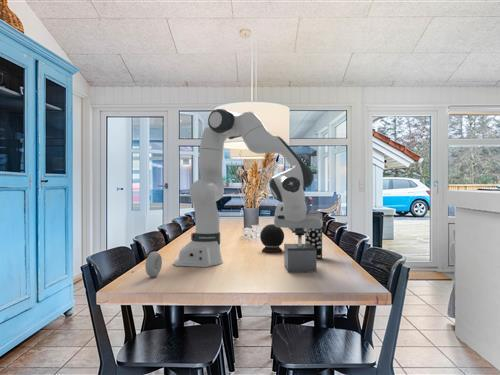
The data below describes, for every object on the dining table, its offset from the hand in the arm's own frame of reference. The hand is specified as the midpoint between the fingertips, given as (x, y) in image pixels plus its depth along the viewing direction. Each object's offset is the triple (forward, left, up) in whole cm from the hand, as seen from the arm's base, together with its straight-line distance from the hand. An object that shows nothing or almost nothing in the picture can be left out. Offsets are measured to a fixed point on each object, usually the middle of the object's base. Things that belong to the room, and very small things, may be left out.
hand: (300, 232), depth 160 cm
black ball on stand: (-8, +42, -16) cm, 46 cm away
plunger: (0, -1, -15) cm, 15 cm away
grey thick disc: (-60, -13, -16) cm, 64 cm away
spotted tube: (+11, +23, -16) cm, 30 cm away
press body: (0, -1, -16) cm, 16 cm away
